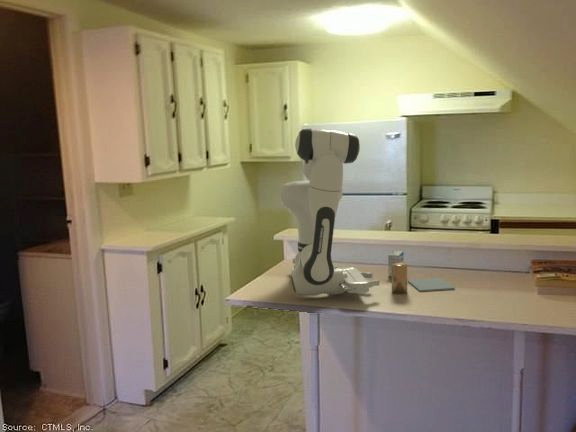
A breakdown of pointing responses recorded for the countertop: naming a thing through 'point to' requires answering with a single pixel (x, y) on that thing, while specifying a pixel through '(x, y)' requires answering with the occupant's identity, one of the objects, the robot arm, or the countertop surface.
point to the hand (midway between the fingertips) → (375, 278)
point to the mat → (430, 284)
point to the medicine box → (395, 259)
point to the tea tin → (399, 278)
